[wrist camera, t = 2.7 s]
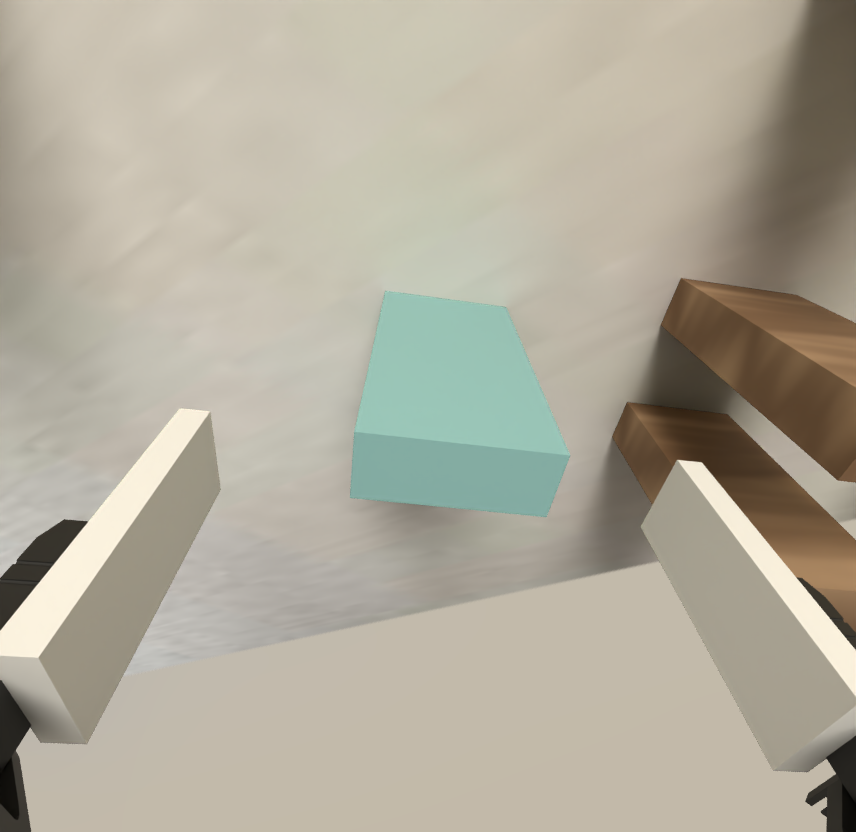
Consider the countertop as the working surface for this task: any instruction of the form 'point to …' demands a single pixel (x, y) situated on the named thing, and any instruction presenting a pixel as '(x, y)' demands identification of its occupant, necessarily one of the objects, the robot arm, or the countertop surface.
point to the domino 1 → (454, 412)
